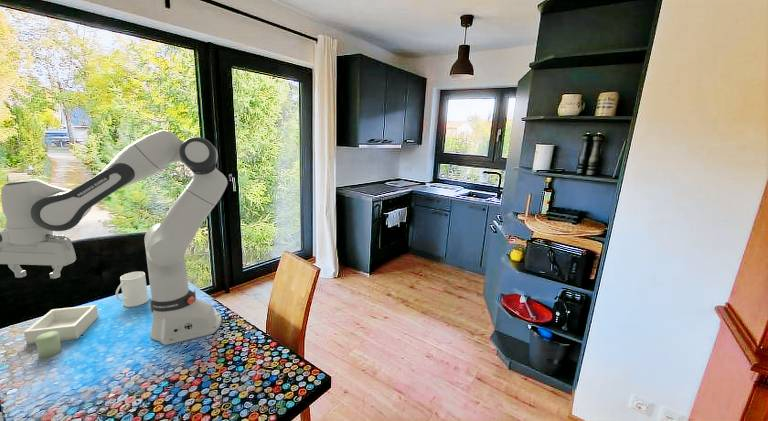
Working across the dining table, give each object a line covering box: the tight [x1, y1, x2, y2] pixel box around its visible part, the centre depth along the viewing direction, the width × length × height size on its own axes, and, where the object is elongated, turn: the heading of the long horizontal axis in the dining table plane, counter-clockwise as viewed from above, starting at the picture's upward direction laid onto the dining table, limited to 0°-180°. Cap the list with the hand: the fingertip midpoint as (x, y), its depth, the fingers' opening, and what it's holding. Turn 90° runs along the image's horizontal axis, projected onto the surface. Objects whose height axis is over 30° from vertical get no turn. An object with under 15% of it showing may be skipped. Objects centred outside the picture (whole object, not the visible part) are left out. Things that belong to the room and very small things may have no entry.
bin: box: [23, 304, 99, 346], centre depth 109 cm, size 13×14×5 cm
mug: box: [115, 271, 150, 308], centre depth 127 cm, size 12×8×12 cm
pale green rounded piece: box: [35, 331, 63, 359], centre depth 98 cm, size 5×5×6 cm
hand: (38, 277), depth 94 cm, fingers open, 8 cm apart
